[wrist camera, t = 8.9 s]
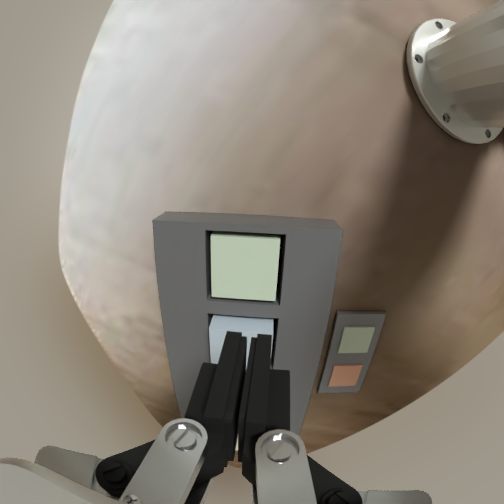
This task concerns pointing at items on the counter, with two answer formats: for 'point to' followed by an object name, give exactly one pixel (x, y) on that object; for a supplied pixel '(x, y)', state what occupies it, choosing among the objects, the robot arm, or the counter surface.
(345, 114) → the counter surface
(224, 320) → the blue key
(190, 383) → the keyguard frame
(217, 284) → the sage key
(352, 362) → the card
